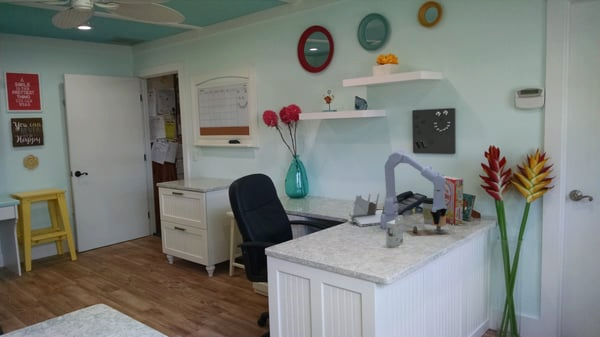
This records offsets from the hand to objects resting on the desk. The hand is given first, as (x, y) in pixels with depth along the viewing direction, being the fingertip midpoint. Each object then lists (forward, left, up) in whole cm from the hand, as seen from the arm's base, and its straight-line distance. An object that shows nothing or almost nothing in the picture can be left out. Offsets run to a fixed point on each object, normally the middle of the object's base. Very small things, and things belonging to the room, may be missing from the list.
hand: (438, 223), depth 238 cm
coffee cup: (+5, +23, -6) cm, 24 cm away
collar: (0, 0, -1) cm, 1 cm away
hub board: (-7, 0, -6) cm, 9 cm away
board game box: (+19, +29, -6) cm, 35 cm away
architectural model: (-25, +34, -6) cm, 42 cm away
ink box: (-30, -16, -6) cm, 35 cm away
